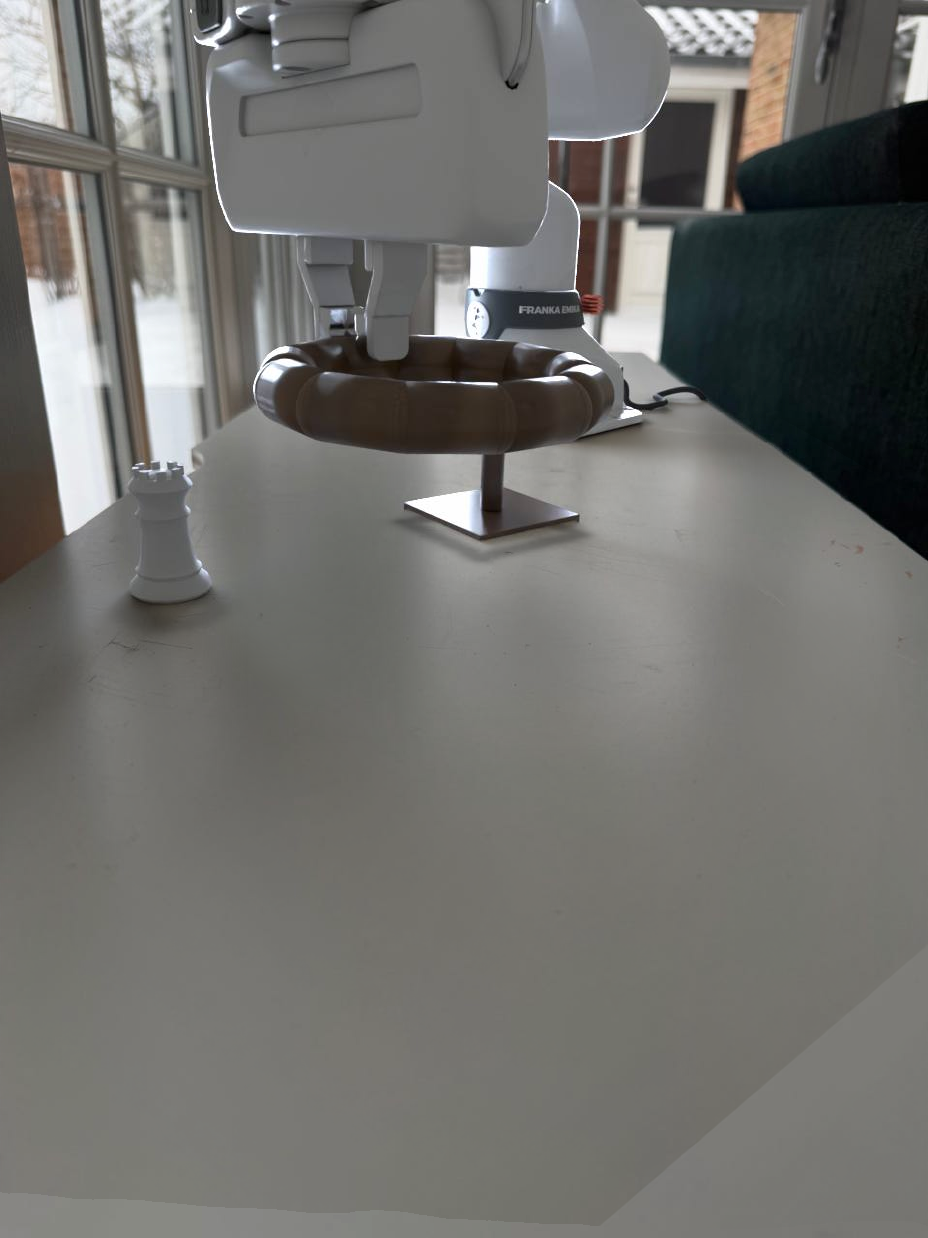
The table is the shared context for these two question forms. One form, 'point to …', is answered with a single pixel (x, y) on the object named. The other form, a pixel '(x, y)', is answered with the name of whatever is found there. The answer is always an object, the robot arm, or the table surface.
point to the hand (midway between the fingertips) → (360, 352)
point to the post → (491, 507)
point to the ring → (434, 395)
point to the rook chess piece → (165, 537)
